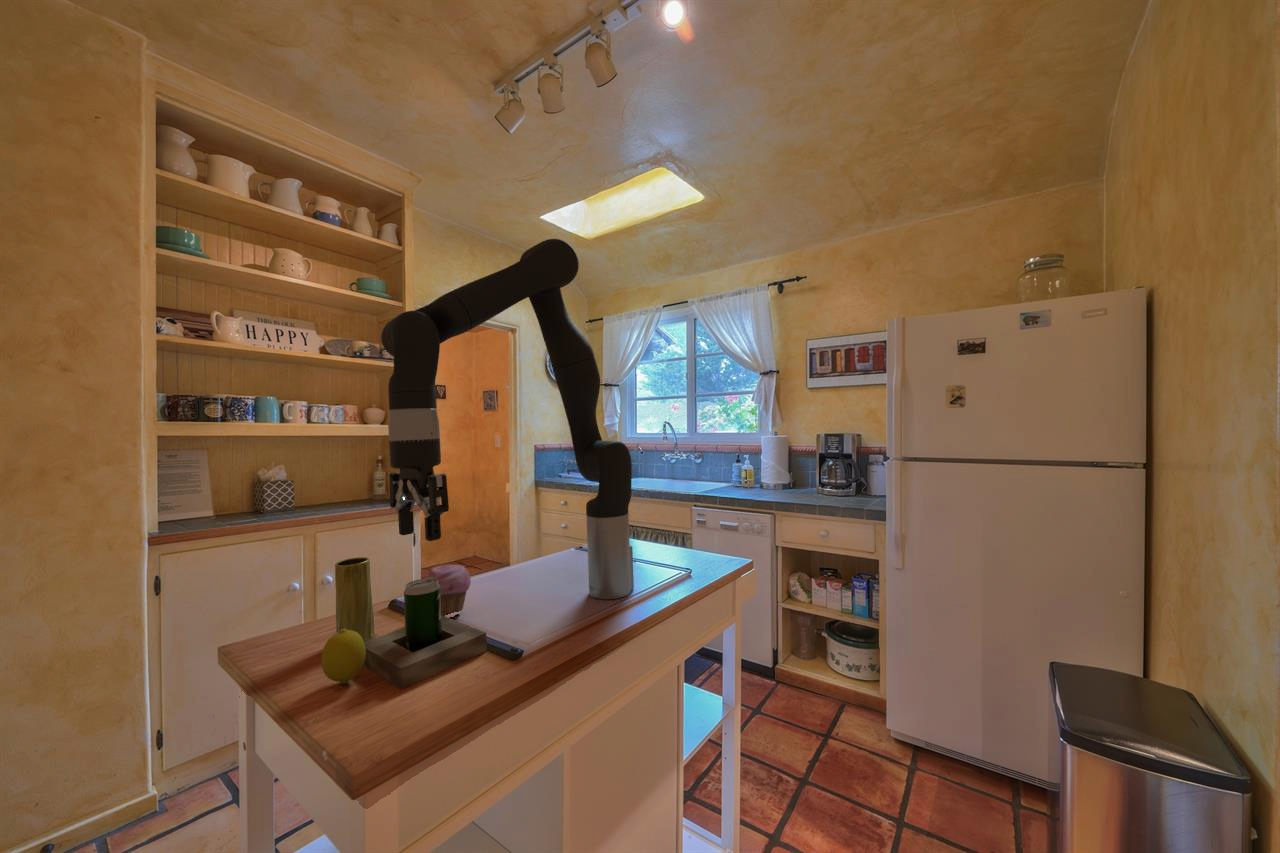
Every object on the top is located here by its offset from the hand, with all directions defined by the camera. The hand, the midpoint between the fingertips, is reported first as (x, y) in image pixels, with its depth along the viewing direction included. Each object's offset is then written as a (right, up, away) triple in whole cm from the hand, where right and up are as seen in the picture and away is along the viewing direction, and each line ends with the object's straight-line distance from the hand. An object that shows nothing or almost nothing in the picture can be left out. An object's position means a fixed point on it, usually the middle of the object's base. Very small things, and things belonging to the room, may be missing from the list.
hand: (419, 537), depth 78 cm
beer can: (+1, -20, 0) cm, 20 cm away
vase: (-14, -20, +7) cm, 26 cm away
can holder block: (+1, -20, 0) cm, 20 cm away
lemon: (-8, -20, -7) cm, 23 cm away
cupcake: (-2, -20, +17) cm, 26 cm away
